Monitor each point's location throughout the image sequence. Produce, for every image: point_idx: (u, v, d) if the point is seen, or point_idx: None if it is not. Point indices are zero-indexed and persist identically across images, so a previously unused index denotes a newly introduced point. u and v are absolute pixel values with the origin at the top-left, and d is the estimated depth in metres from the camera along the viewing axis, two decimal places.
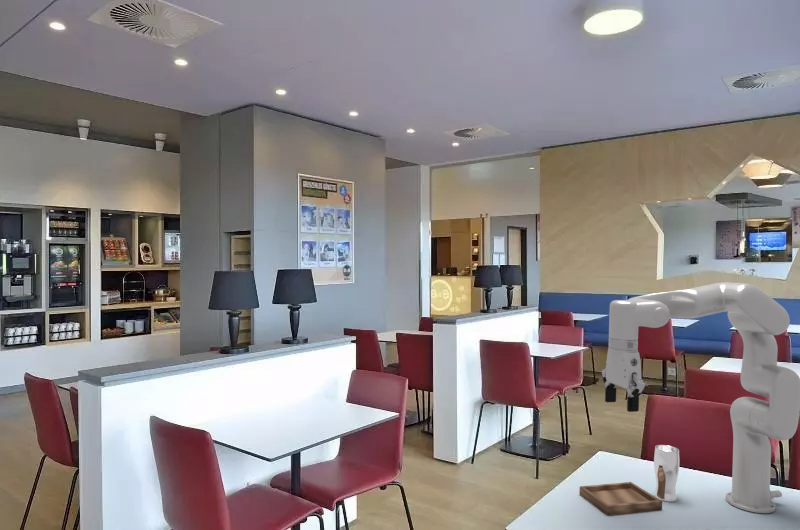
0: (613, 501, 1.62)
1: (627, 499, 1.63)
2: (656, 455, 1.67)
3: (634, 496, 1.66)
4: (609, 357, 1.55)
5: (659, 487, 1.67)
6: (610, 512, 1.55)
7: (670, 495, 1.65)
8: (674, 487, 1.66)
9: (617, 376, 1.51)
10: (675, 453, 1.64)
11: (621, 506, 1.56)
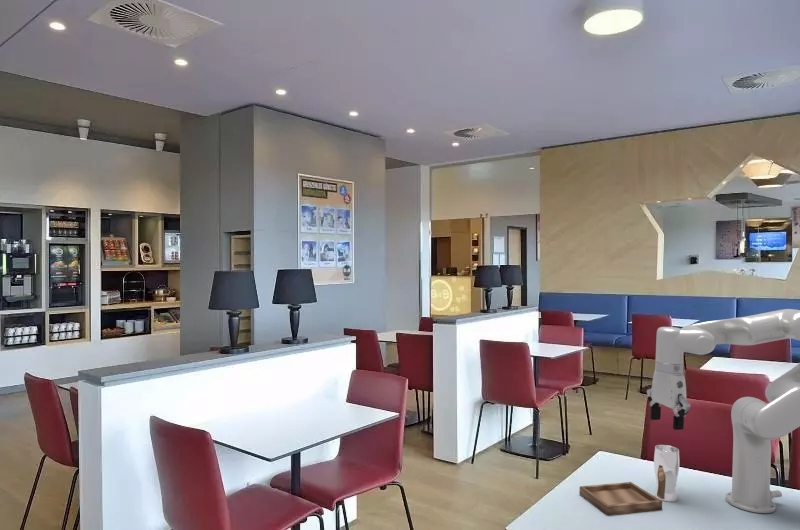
0: (613, 501, 1.62)
1: (627, 499, 1.63)
2: (656, 455, 1.67)
3: (634, 496, 1.66)
4: (655, 379, 1.69)
5: (659, 487, 1.67)
6: (610, 512, 1.55)
7: (670, 495, 1.65)
8: (674, 487, 1.66)
9: (663, 397, 1.66)
10: (675, 453, 1.64)
11: (621, 506, 1.56)
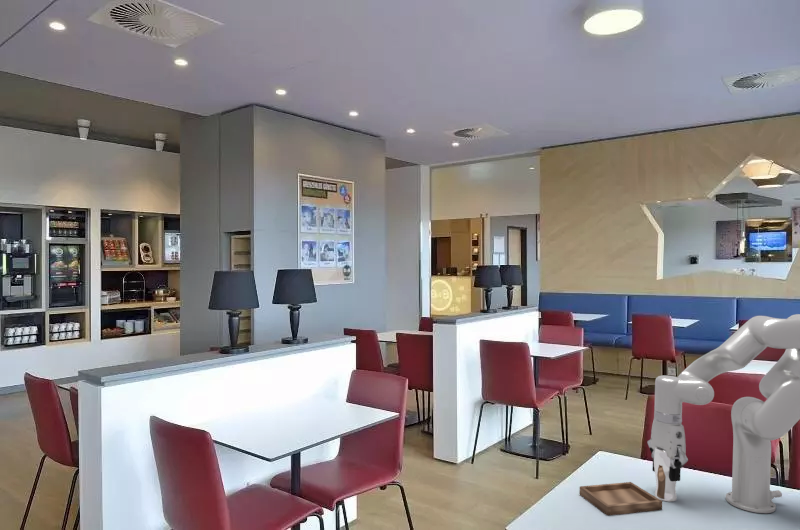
0: (613, 501, 1.62)
1: (627, 499, 1.63)
2: (656, 455, 1.67)
3: (634, 496, 1.66)
4: (654, 427, 1.70)
5: (659, 487, 1.67)
6: (610, 512, 1.55)
7: (670, 495, 1.65)
8: (674, 487, 1.66)
9: (663, 446, 1.66)
10: None
11: (621, 506, 1.56)
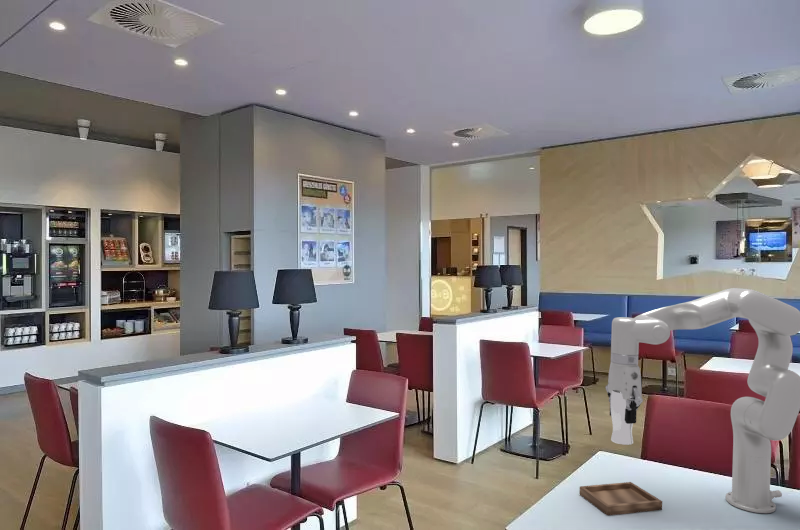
0: (613, 501, 1.62)
1: (627, 499, 1.63)
2: (612, 398, 1.63)
3: (634, 496, 1.66)
4: (611, 370, 1.66)
5: (615, 430, 1.63)
6: (610, 512, 1.55)
7: (626, 438, 1.61)
8: (630, 430, 1.61)
9: (619, 389, 1.62)
10: None
11: (621, 506, 1.56)
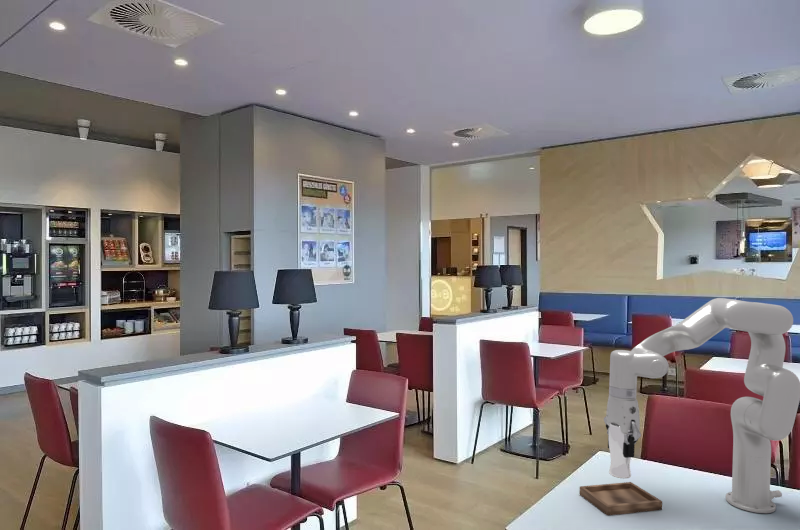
0: (613, 501, 1.62)
1: (627, 499, 1.63)
2: (610, 431, 1.63)
3: (634, 496, 1.66)
4: (609, 403, 1.66)
5: (613, 464, 1.63)
6: (610, 512, 1.55)
7: (624, 472, 1.61)
8: (628, 463, 1.62)
9: (617, 422, 1.62)
10: None
11: (621, 506, 1.56)
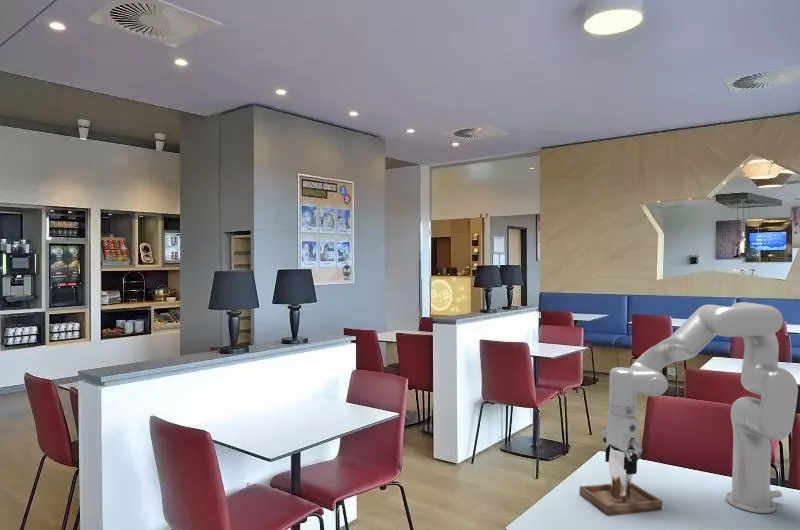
0: (613, 501, 1.62)
1: None
2: (611, 455, 1.63)
3: (634, 496, 1.66)
4: (609, 420, 1.66)
5: (613, 488, 1.63)
6: (610, 512, 1.55)
7: (624, 496, 1.61)
8: (628, 488, 1.62)
9: (616, 440, 1.62)
10: (630, 453, 1.60)
11: (621, 506, 1.56)
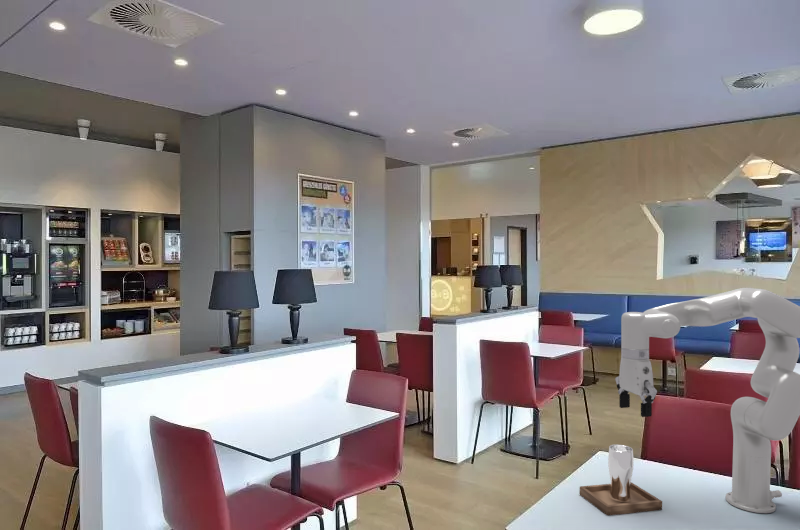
0: (613, 501, 1.62)
1: None
2: (610, 455, 1.63)
3: (634, 496, 1.66)
4: (622, 365, 1.65)
5: (613, 488, 1.63)
6: (610, 512, 1.55)
7: (624, 496, 1.61)
8: (628, 487, 1.62)
9: (630, 383, 1.62)
10: (629, 453, 1.61)
11: (621, 506, 1.56)
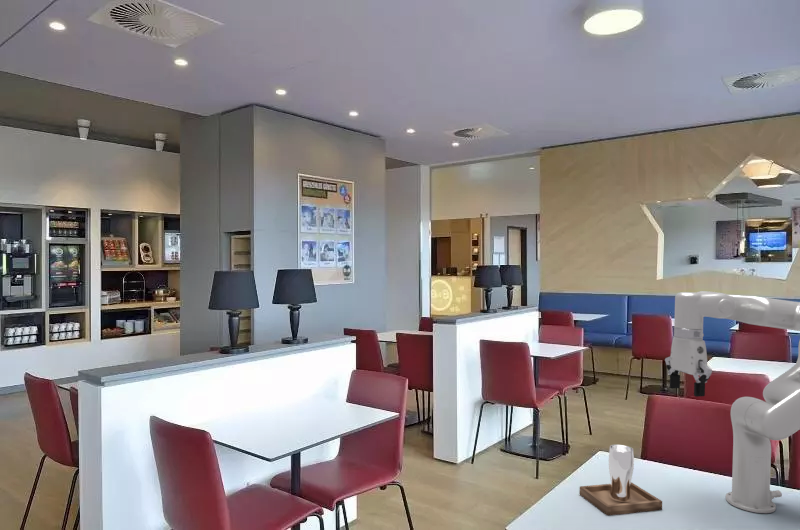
0: (613, 501, 1.62)
1: None
2: (610, 455, 1.63)
3: (634, 496, 1.66)
4: (674, 345, 1.65)
5: (613, 488, 1.63)
6: (610, 512, 1.55)
7: (624, 496, 1.61)
8: (628, 487, 1.62)
9: (683, 363, 1.61)
10: (629, 453, 1.61)
11: (621, 506, 1.56)
